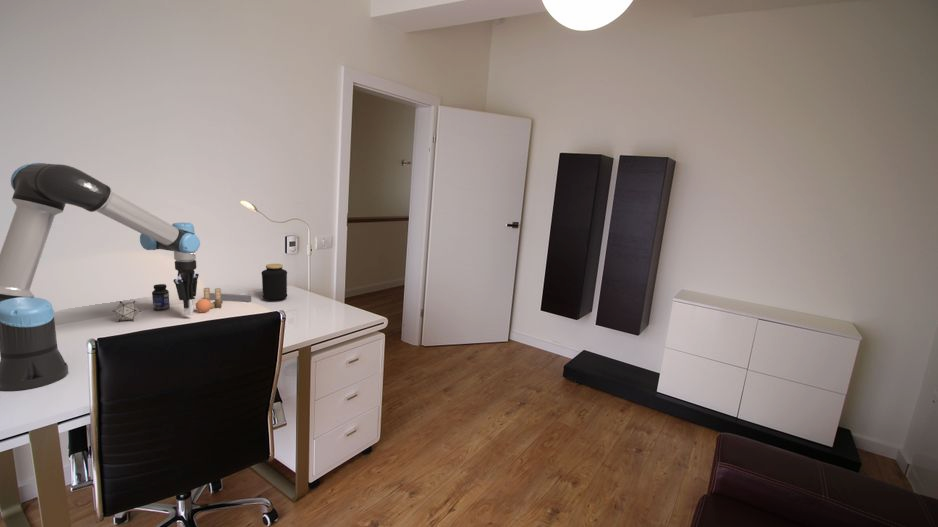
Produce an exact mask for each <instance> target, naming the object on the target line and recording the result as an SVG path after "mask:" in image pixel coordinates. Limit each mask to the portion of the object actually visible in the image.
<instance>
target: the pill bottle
mask: <svg viewBox="0 0 938 527" xmlns="http://www.w3.org/2000/svg"><path fill="white" fill-rule="evenodd" d="M153 289H154V290H153V291H152V292H151V296H152V306H153V311H157V312H158V311H162V312H163V311H167V310H170V306H171V305H170V291H169V290H168V289H167V284H166V283H165V284H164V283H162V284H161V283H160V284H154V285H153Z"/></svg>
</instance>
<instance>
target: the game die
mask: <svg viewBox="0 0 938 527" xmlns="http://www.w3.org/2000/svg"><path fill="white" fill-rule="evenodd" d="M135 303H136V300H134V301H133V302H122V301H119V304H118V306H117V307H116V308H115V309H114V310H112V311H111V312H113V313H115V315H116V316H117V318H118V319H119V320H118V321H119V322H121V321H131V320H132V321H133V320H134V319H135V317H136V316H137V315H138V314H139V312H142V310H139V309H138V308H139V307H137V305H136V304H135Z"/></svg>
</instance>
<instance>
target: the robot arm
mask: <svg viewBox="0 0 938 527" xmlns="http://www.w3.org/2000/svg"><path fill="white" fill-rule="evenodd" d="M10 186H11V187H12V189H13V195H12V198H11V201H12V202H13V204H14V205H15V206H16V208H15V211H14V213H13V215H12V216H13V217H12V219H11V222H10V225H9V228H8V230H7V233H6V236H5V239H4V242H3V245H2V247H1V250H0V390H1V391H8V392H9V391H10V392H11V391H13V392H14V391H22V390H23V391H24V390H30V389H34V388H39V387H43V386H47V385H49V384H52V383H55V382H57V381H60V380H61V379H64V378H65V377H67V375H69V364H68V363H67V362H65V359H64V357H63V355H62V354H61V352H60V350H59V349H58V340H57V332H56V321H55V311H54V308H53V305H52V303H51V302H50V301H49V300H47V299H45V298H42V297H35V295H34V293H33V292H32V291H31V286H32V284H33V280H34V278H35V275H36V271H37V269H38V266H39V263H40V260H41V257H42V254H43V251H44V248H45V246H46V245H45V244H46V243H47V239H48V237H49V233H50V231H51V228H52V225H53V221H54V218H55V216H56V215H59V214H61V213H64V209H65V207H66V204H67V205H71V206H75V207H77V208H78V207H79V208H80V209H83V210H85V211H87V212H91V213H94V212H97V213H99V214H102V215H103V216H105V217H107V218H109V219H111V220H113V221H115V222H117V223H119V224H122V225H124V226H125V227H127V228H130V229H132V230H134V231H136V232H138V233H139V234H140V235H139V242H140V245H141V247H142V248H143V249H144V250H146V251H156V250H163V251H170V252H173V260H175V261H174V269H175V271H177V278H175V279H173V283H174V285H175V289H176V292H177V296H178V300H179V301H183V302H182V304H183V310H184V316H192V315H194V307H193V305H194V304H193V300H195V299H196V297H197V289H198V279H199V273H195V270H196V269H197V260H196V259H197V256H196V255H197V254H196V252H197V251H198V250H199V248H200V246H201V240H200V238H199V237H198V235H196V233H195V226H194V224H193V223H191V222H173V223H172V224H170V223H168V222H167V221H165V220H163V219H161V218H159V217H158V216H156V215H154V214H152V213H151V212H149V211H148V210H145V209H144V208H142V207H140V206H138V205H136V204H134V203H133V202H131V201H129V200H127V199H125V198H124V197H122V196H120V195H118V194H116V193H115V192H113V191H112V190H113V189H112V188H111V187H110V186H109V185H107V184H106V183H104V182H102V181H99V179H96V178H95V177H93V176H92V175H89V174H88V173H86V172H84V171H83V170H80V169H78V168H76V167H73V166H70V165H66V164H58V163H57V164H56V163H54V164H53V163H45V162H32V163H26V164H24V165H21V166H20V167H18V168H17V169H15V170H14V171H13V173H12V175H11V177H10Z"/></svg>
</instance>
